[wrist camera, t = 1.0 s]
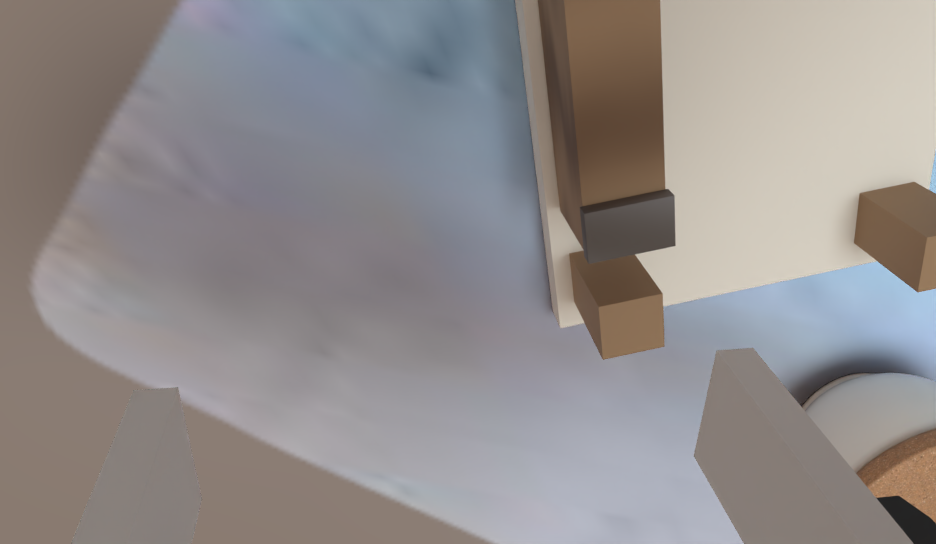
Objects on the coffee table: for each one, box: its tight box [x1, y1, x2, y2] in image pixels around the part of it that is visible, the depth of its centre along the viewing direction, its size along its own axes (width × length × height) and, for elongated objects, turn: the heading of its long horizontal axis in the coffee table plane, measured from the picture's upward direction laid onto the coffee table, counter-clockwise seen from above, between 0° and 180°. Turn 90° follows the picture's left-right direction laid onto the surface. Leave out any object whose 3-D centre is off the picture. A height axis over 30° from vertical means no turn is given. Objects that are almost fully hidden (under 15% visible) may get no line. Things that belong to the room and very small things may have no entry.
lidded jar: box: [802, 373, 936, 523], centre depth 37 cm, size 11×11×9 cm
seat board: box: [515, 0, 936, 360], centre depth 28 cm, size 17×20×6 cm
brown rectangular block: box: [538, 0, 676, 264], centre depth 26 cm, size 9×3×5 cm, turn 9°
